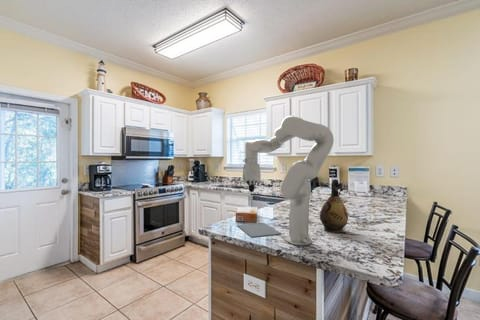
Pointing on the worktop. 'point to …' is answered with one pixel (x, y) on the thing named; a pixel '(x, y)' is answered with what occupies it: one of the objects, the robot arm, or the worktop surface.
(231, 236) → the worktop surface
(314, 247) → the worktop surface
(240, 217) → the cracker box
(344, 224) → the ceramic jug
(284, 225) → the worktop surface
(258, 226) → the mat
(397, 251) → the worktop surface
